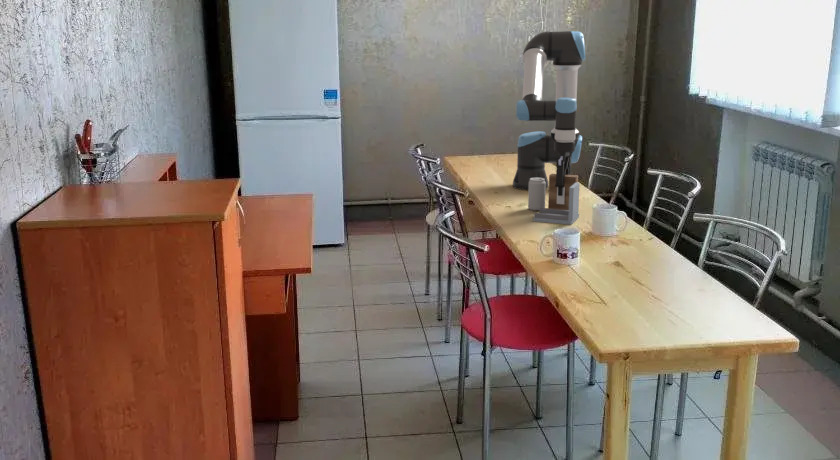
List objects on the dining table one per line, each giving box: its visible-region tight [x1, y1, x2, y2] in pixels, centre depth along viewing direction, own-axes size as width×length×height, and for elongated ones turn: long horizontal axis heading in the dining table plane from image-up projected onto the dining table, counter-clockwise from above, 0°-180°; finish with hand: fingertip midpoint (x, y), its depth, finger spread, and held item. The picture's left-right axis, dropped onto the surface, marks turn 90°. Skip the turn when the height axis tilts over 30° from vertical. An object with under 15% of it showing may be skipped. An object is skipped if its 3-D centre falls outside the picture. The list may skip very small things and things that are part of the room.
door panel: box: [547, 173, 579, 210], centre depth 295 cm, size 4×10×14 cm, turn 66°
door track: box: [532, 182, 581, 225], centre depth 285 cm, size 12×14×13 cm
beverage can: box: [527, 178, 547, 212], centre depth 299 cm, size 6×6×12 cm
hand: (562, 201), depth 296 cm, fingers open, 6 cm apart
